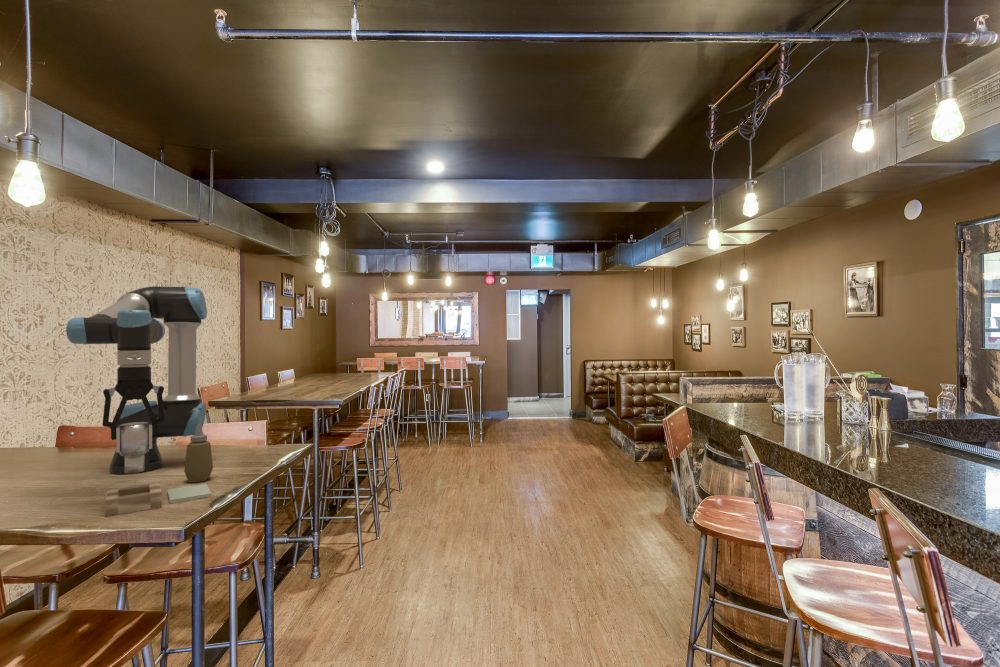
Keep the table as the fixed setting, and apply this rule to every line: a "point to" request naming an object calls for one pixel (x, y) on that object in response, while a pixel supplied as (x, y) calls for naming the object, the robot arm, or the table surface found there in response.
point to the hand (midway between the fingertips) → (134, 449)
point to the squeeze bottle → (198, 457)
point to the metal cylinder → (134, 445)
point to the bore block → (133, 499)
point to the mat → (188, 493)
